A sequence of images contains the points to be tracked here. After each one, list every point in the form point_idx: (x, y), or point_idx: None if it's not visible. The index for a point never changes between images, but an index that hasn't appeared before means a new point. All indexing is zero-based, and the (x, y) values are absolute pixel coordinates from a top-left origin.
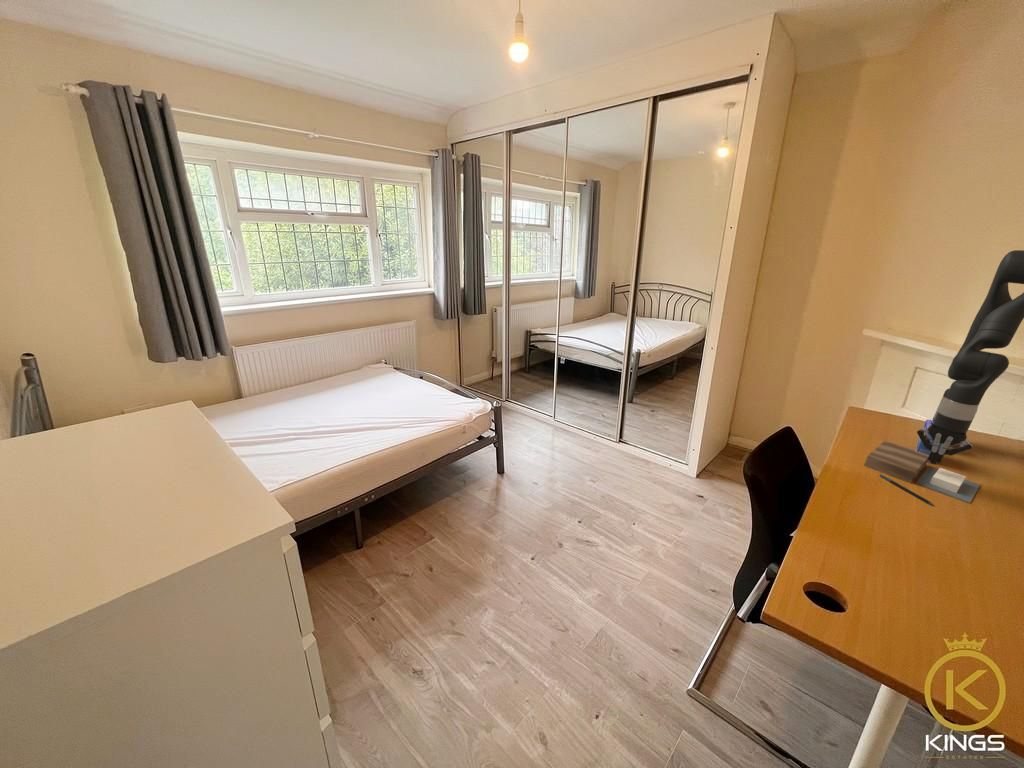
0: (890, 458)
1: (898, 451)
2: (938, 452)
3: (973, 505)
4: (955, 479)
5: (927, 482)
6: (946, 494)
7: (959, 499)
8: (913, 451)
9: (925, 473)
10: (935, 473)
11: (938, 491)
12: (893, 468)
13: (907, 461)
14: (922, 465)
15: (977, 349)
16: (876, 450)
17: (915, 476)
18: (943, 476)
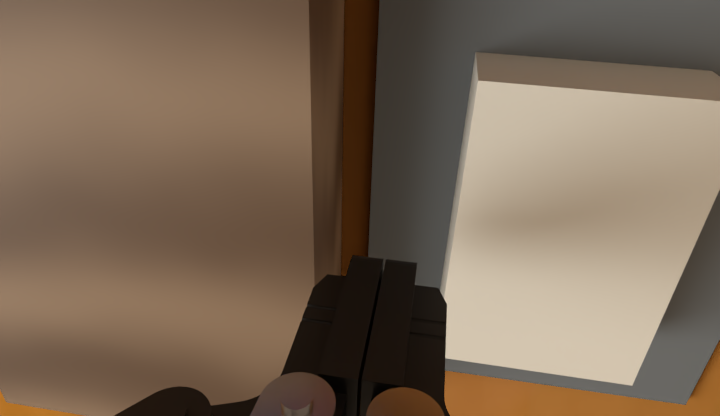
0: (105, 343)
1: (38, 101)
2: (364, 411)
3: (702, 404)
4: (615, 279)
5: None
6: (545, 381)
7: (622, 390)
8: None
9: (386, 136)
10: (448, 277)
11: (498, 376)
12: None
13: (207, 302)
14: (323, 171)
15: None
16: None
17: (338, 274)
18: (513, 290)
